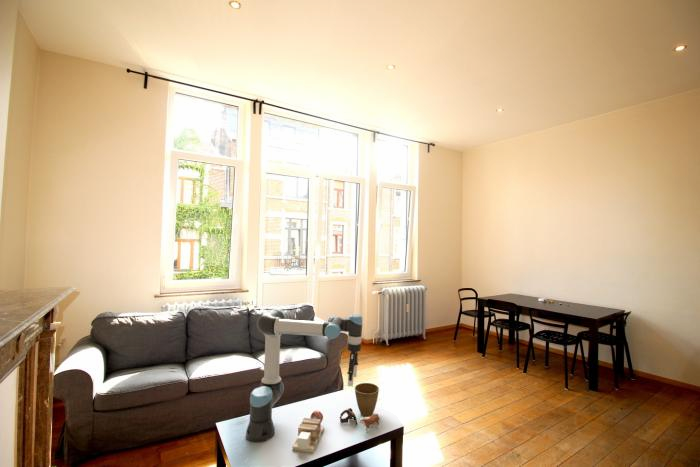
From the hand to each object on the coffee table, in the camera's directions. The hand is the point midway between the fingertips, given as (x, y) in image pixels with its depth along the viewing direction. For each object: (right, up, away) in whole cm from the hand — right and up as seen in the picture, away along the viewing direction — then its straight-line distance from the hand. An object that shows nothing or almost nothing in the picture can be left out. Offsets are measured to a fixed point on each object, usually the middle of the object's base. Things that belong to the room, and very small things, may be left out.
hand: (352, 381), depth 187 cm
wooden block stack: (-22, -26, -5) cm, 34 cm away
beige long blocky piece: (-23, -27, -10) cm, 37 cm away
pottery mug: (-2, -28, +8) cm, 29 cm away
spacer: (-25, -24, -18) cm, 39 cm away
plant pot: (+9, -28, +17) cm, 34 cm away
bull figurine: (+10, -28, 0) cm, 29 cm away
